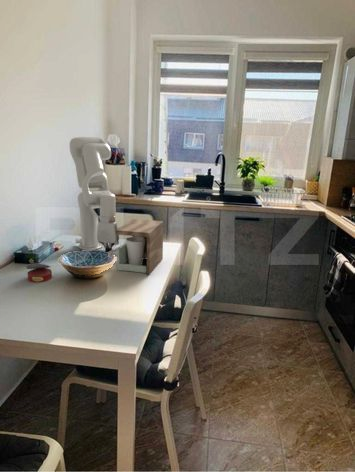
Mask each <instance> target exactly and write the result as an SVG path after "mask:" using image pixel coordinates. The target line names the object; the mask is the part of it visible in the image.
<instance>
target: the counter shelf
mask: <svg viewBox="0 0 355 472" xmlns="http://www.w3.org/2000/svg"><path fill="white" fill-rule="evenodd" d="M115 234H116V235H119V236H130V237H143V238H145V248H144V252H145V253H147V259H146V266H147V272H146V275H147V276H150V275H151V274H152V273H153V271H155V269H156V268H157V267H158V265H159V264H160V263H161V262H162V260H163V259H164V258H163V255H164V254H163V253H164V252H163V251H164V250H163V249H164V248H163V247H164V221H163V220H149V219H138V218H137V219H136V218H132V219H130V221H127V222H126V223H124V224H123V225H121V226H120V227H118V229H116V230H115Z"/></svg>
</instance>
